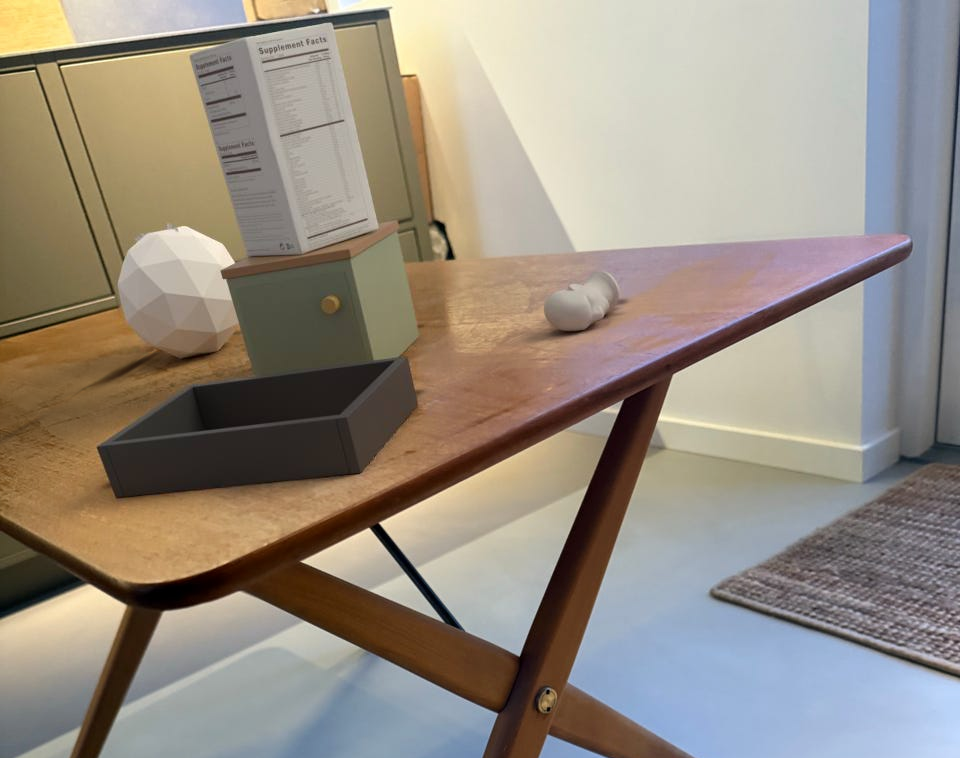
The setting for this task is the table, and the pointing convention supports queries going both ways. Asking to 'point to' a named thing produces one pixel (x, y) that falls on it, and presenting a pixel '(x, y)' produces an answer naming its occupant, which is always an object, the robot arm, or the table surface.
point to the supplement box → (286, 140)
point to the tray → (262, 429)
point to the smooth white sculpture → (582, 302)
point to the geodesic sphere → (178, 292)
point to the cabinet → (325, 304)
